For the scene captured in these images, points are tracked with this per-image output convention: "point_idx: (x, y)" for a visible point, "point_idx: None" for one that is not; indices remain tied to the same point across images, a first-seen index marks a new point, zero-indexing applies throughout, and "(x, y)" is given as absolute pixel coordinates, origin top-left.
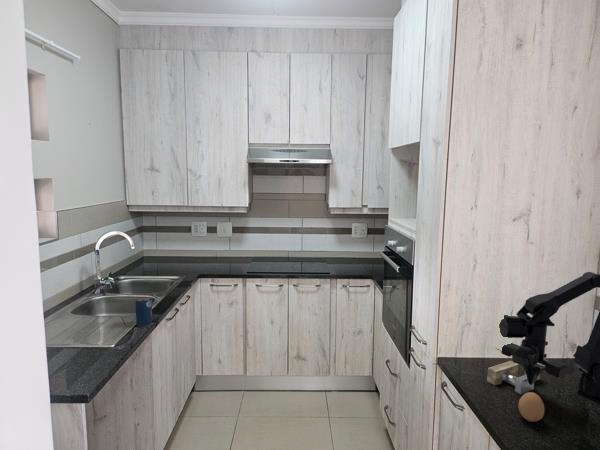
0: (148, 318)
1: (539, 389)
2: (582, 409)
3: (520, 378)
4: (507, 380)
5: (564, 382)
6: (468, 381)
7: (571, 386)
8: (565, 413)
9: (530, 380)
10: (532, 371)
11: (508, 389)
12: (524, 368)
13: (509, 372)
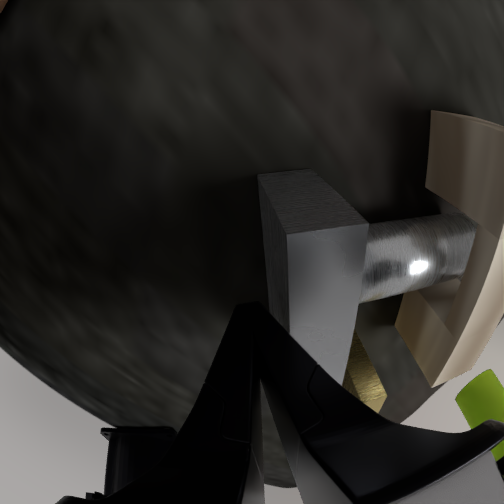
0: None
1: None
2: (48, 362)
3: (335, 270)
4: (414, 221)
5: None
6: (500, 23)
7: None
8: (6, 270)
9: (245, 331)
10: (222, 450)
11: (354, 150)
12: (362, 413)
13: (441, 301)
